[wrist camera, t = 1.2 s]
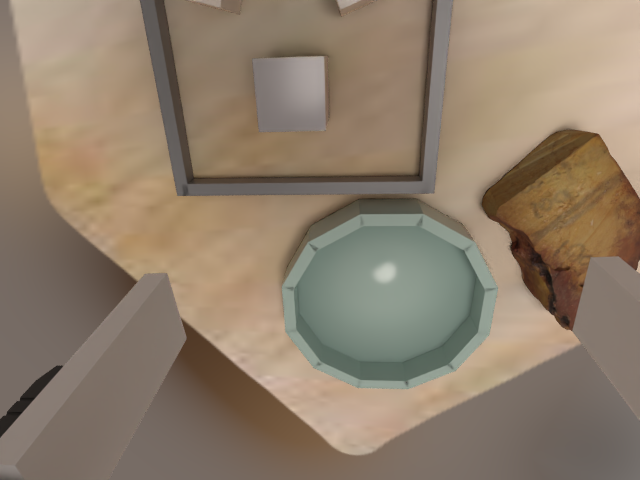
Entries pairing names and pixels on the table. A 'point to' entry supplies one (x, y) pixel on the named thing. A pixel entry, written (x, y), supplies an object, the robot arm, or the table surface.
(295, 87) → the grey square pillar
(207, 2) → the light grey block
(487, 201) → the stone
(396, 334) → the bowl
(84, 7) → the table surface
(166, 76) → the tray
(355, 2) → the pale grey block
